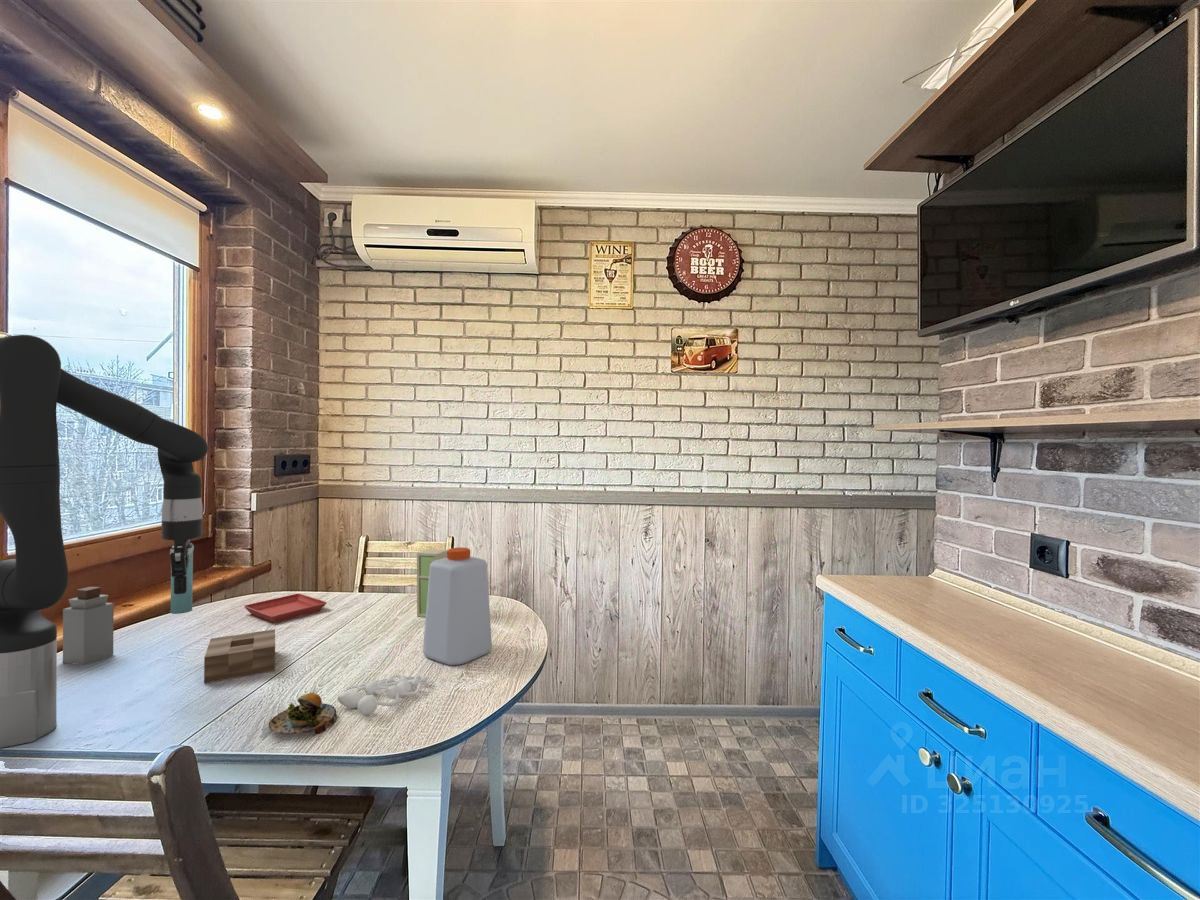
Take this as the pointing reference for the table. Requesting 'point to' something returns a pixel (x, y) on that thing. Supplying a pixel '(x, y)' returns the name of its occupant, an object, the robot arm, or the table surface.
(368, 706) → the tangled rod sculpture
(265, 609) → the plant saucer
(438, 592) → the plastic bottle
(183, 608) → the pin
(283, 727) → the burger
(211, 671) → the bore block
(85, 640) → the perfume bottle
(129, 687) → the table surface
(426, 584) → the toy refrigerator
